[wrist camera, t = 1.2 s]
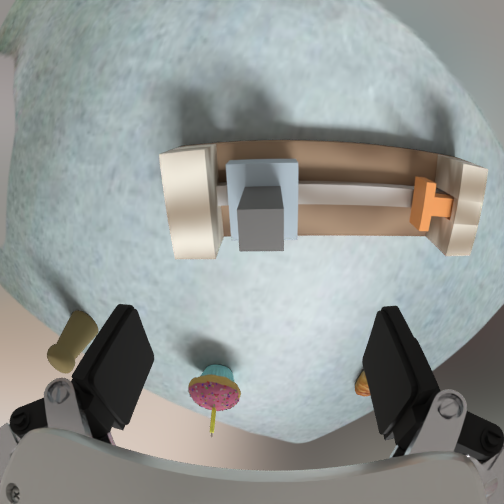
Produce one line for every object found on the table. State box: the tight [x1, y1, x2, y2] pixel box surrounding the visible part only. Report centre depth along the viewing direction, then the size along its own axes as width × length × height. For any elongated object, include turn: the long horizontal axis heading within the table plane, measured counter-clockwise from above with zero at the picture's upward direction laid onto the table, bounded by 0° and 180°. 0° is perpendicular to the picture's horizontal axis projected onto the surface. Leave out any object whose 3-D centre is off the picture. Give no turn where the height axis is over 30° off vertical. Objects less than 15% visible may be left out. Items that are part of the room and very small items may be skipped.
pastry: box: [355, 371, 370, 396], centre depth 41 cm, size 9×7×4 cm
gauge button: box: [409, 176, 454, 231], centre depth 23 cm, size 5×6×2 cm
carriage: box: [226, 159, 298, 251], centre depth 22 cm, size 7×6×10 cm
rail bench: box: [159, 140, 488, 259], centre depth 25 cm, size 10×32×6 cm, turn 92°
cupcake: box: [188, 364, 241, 437], centre depth 38 cm, size 9×8×12 cm
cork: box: [47, 310, 98, 373], centre depth 36 cm, size 6×6×11 cm
